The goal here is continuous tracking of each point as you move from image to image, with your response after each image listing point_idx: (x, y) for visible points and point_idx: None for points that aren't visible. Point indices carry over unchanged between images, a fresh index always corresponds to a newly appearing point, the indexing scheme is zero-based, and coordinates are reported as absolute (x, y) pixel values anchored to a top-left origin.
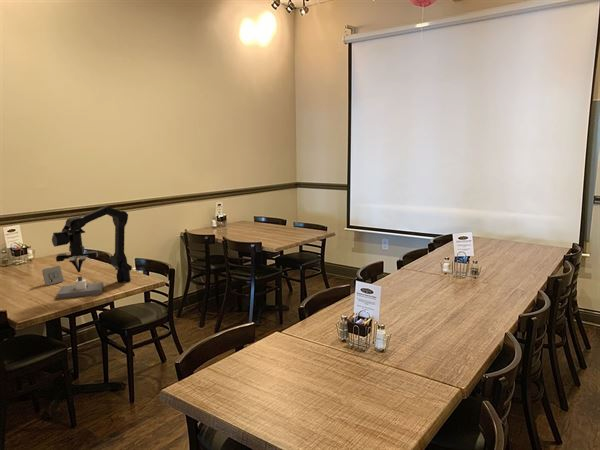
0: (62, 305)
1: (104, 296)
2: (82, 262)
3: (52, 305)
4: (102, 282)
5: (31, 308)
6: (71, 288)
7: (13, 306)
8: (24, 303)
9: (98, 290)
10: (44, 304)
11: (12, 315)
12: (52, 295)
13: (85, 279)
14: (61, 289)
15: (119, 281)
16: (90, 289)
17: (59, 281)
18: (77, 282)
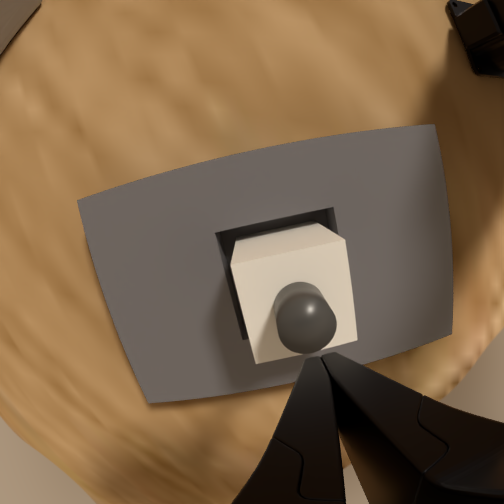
0: (249, 469)
1: (452, 356)
2: (488, 434)
3: (191, 462)
4: (431, 133)
5: (111, 468)
6: (193, 280)
7: (17, 418)
8: (28, 398)
9: (437, 336)
10: (135, 442)
11: (96, 499)
12: (77, 300)
13: (345, 253)
14: (114, 296)
15: (482, 65)
16: (384, 329)
17: (22, 18)
18: (282, 355)
